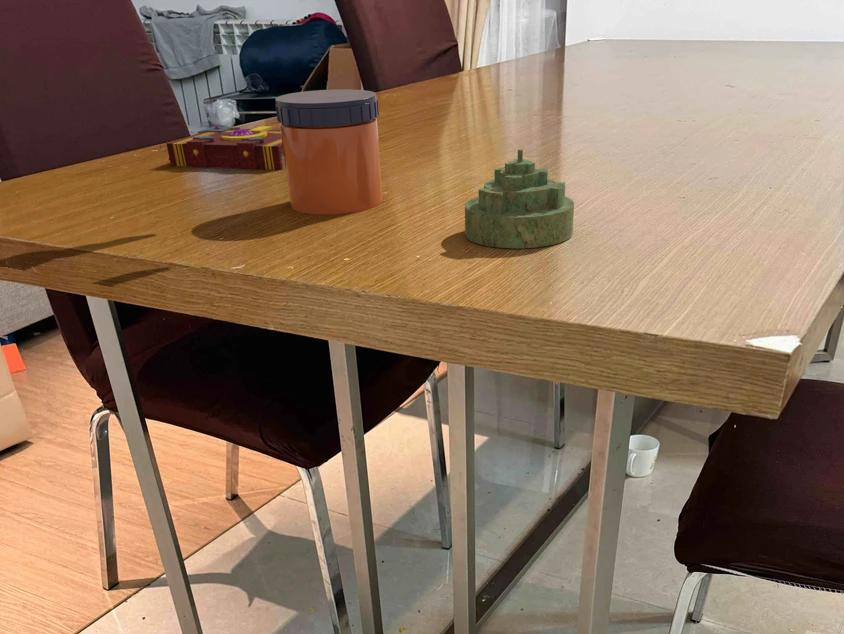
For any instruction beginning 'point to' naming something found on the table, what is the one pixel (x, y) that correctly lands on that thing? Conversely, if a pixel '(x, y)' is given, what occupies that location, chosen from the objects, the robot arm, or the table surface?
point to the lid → (326, 108)
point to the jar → (333, 167)
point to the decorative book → (229, 149)
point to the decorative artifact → (519, 209)
